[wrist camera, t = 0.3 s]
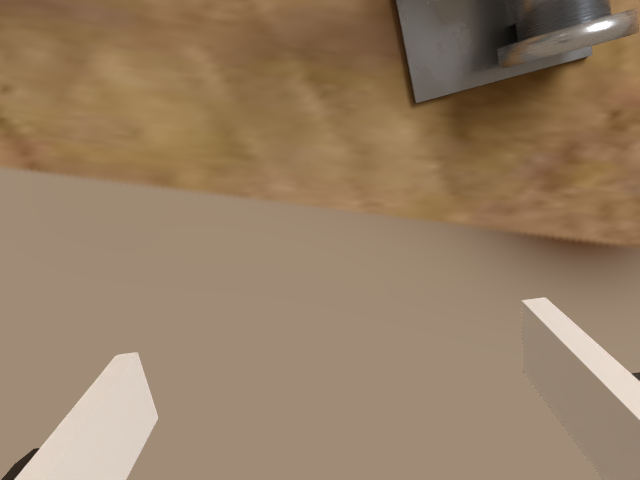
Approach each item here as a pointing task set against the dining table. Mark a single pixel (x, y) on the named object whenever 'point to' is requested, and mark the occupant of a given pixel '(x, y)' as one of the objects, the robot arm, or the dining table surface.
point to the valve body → (499, 38)
